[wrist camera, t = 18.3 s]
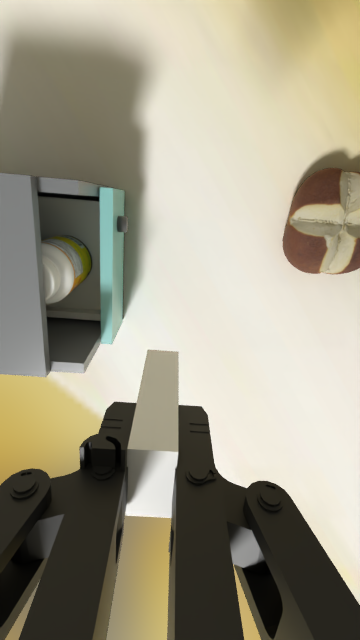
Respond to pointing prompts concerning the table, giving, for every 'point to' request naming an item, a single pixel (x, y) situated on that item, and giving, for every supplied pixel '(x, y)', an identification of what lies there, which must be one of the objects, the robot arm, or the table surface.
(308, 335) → the table surface
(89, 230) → the teal drawer
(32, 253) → the housing
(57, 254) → the supplement bottle
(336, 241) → the bread
